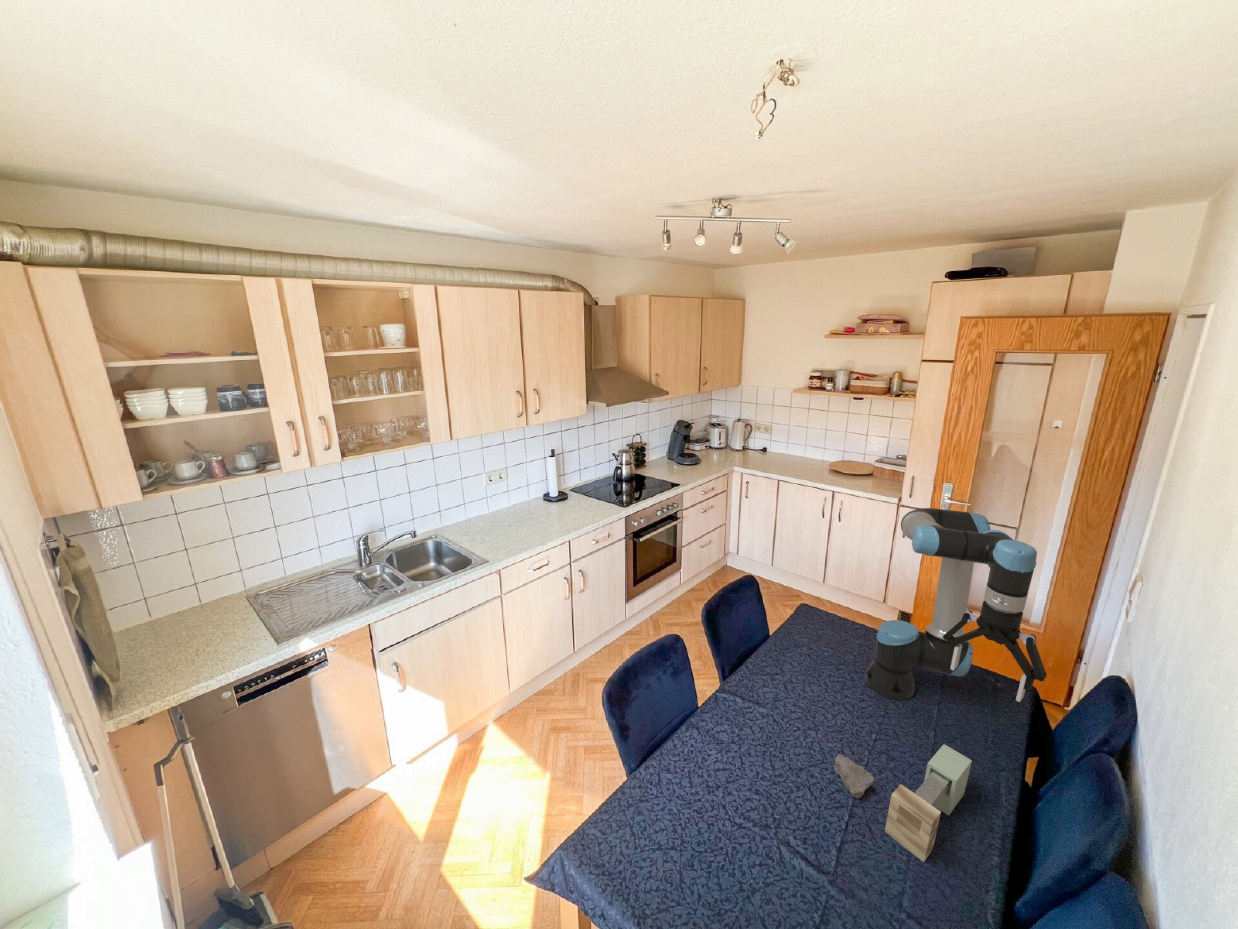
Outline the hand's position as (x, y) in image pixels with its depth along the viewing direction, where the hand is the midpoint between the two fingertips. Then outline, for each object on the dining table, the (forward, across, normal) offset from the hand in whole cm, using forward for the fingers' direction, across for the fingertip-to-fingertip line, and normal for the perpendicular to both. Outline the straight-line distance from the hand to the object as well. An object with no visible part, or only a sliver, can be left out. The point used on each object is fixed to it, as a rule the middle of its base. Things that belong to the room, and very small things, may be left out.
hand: (985, 682), depth 119 cm
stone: (+37, -20, -18) cm, 46 cm away
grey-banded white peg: (+31, -3, -14) cm, 34 cm away
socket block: (+37, -3, -22) cm, 43 cm away
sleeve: (+37, -3, -2) cm, 37 cm away
